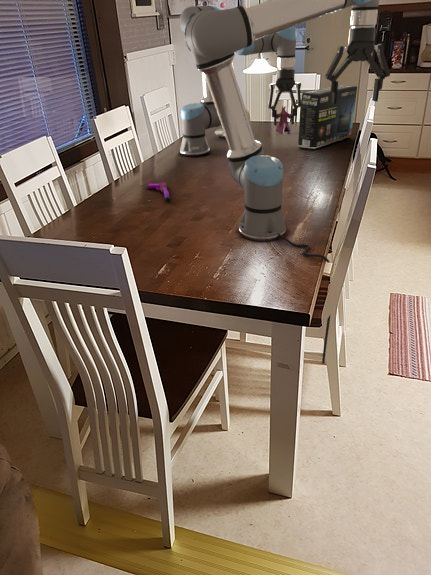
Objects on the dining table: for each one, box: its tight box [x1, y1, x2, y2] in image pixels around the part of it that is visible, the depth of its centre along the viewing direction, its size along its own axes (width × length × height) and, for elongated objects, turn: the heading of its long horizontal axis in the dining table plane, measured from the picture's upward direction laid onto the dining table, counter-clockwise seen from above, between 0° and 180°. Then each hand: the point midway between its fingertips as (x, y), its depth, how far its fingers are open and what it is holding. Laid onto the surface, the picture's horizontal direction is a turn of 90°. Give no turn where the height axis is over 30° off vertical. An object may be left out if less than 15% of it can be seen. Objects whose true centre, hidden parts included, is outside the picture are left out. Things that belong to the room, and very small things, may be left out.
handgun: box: [147, 182, 171, 203], centre depth 184 cm, size 21×8×2 cm, turn 11°
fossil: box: [214, 128, 225, 138], centre depth 265 cm, size 18×11×15 cm
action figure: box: [275, 105, 294, 137], centre depth 206 cm, size 8×9×12 cm
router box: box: [297, 84, 358, 151], centre depth 238 cm, size 36×11×27 cm, turn 134°
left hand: (283, 124), depth 207 cm, fingers closed on action figure, 7 cm apart
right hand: (354, 102), depth 149 cm, fingers open, 13 cm apart
